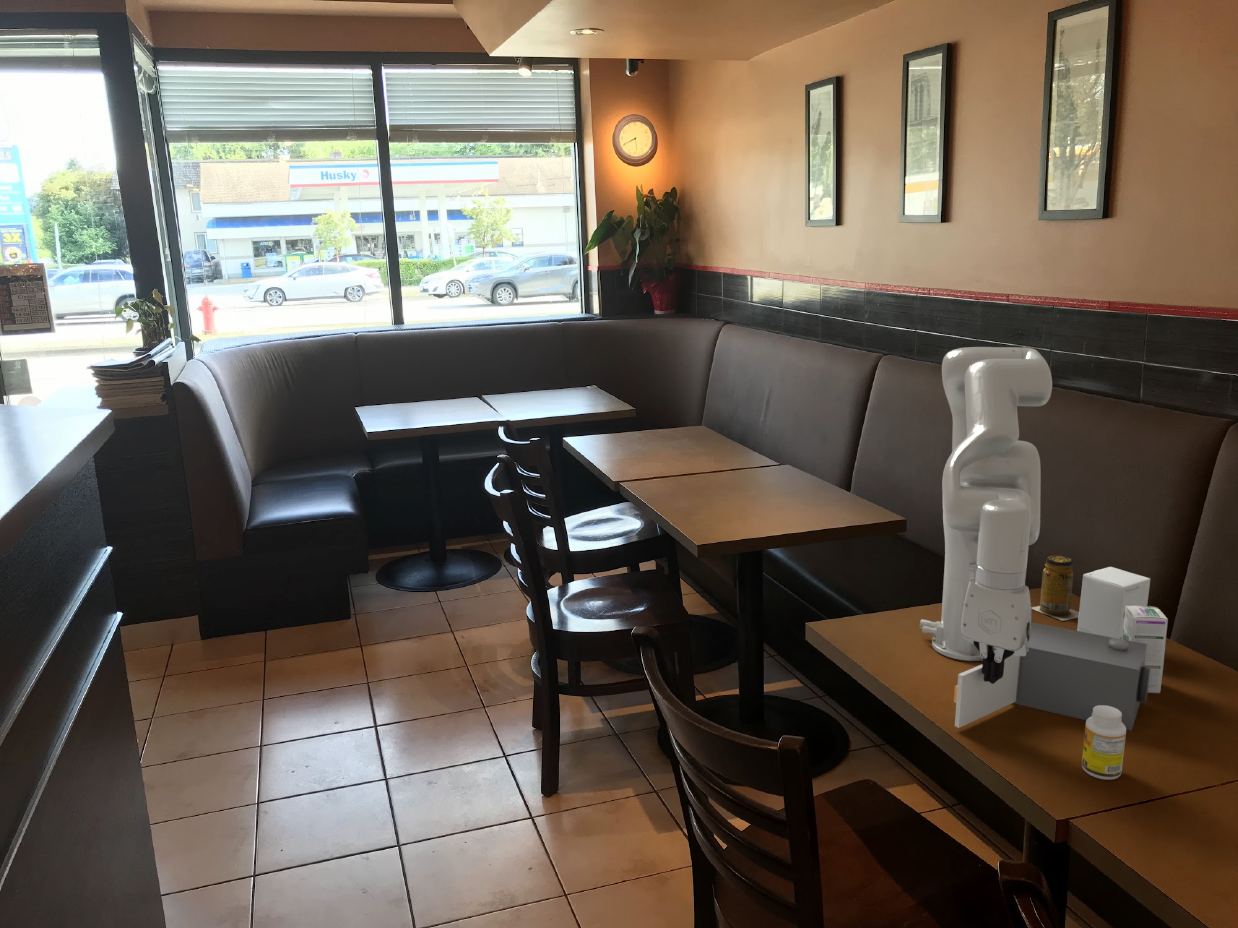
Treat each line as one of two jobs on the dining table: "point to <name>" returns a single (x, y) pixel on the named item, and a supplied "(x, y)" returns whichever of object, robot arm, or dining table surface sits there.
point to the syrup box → (1148, 638)
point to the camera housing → (1082, 673)
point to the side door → (985, 692)
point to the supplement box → (1109, 600)
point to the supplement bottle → (1104, 743)
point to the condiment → (1057, 589)
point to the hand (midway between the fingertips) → (992, 679)
